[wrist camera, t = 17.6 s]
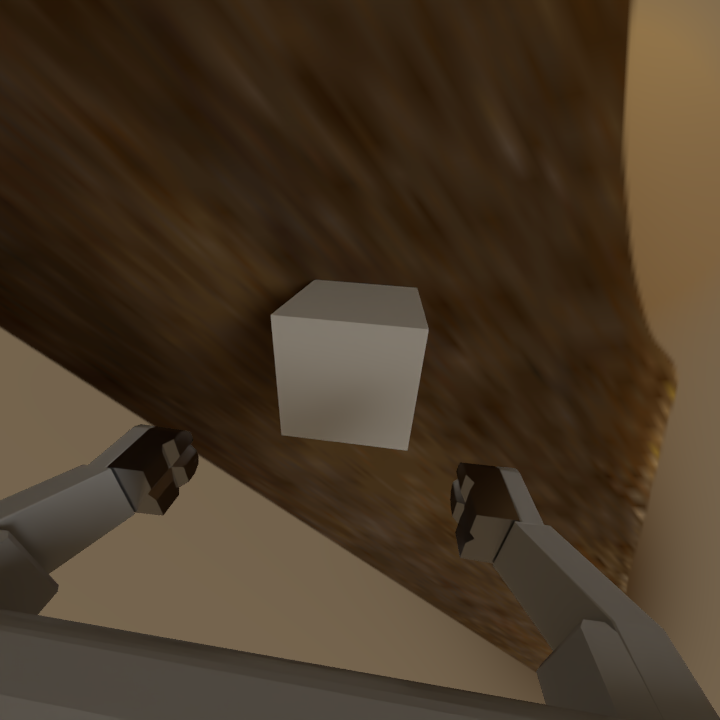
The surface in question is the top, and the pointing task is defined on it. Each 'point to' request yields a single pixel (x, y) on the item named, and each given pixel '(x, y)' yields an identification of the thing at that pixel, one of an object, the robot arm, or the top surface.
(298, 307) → the grey matte cube
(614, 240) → the top surface
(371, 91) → the top surface
